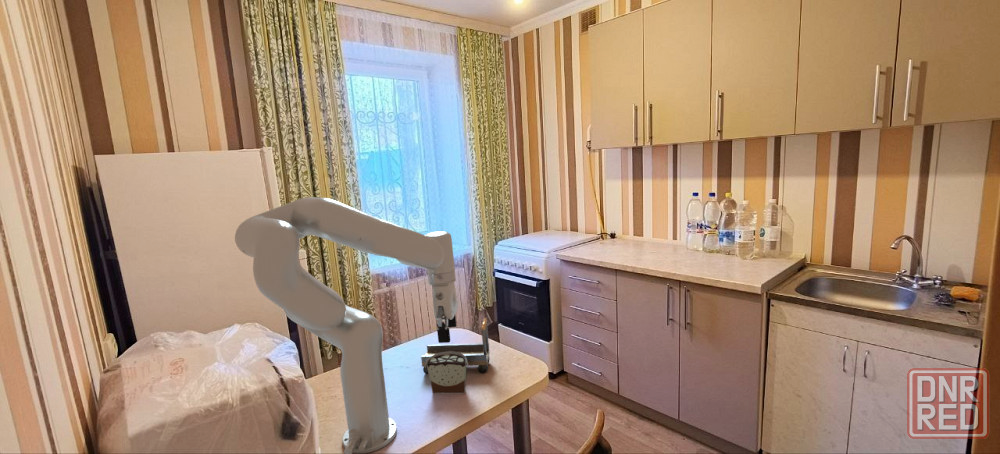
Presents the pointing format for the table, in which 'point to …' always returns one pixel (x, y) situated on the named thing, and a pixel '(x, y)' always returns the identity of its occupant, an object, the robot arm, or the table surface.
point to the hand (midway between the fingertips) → (447, 334)
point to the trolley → (465, 351)
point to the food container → (447, 372)
